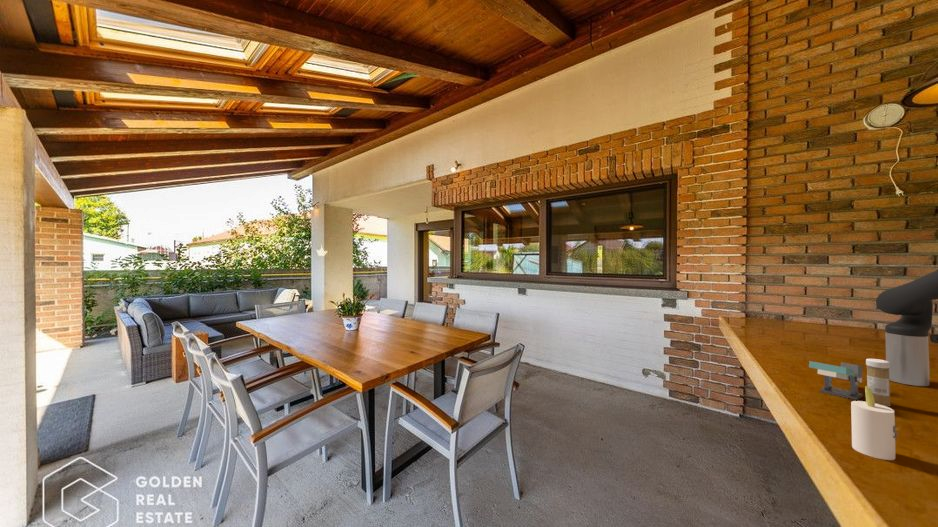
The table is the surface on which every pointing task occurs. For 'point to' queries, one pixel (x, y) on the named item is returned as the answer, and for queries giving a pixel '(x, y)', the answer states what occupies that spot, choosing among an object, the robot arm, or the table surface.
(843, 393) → the pivot stand
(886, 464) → the table surface
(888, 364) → the sprinkles bottle
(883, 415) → the candle
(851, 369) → the beam
